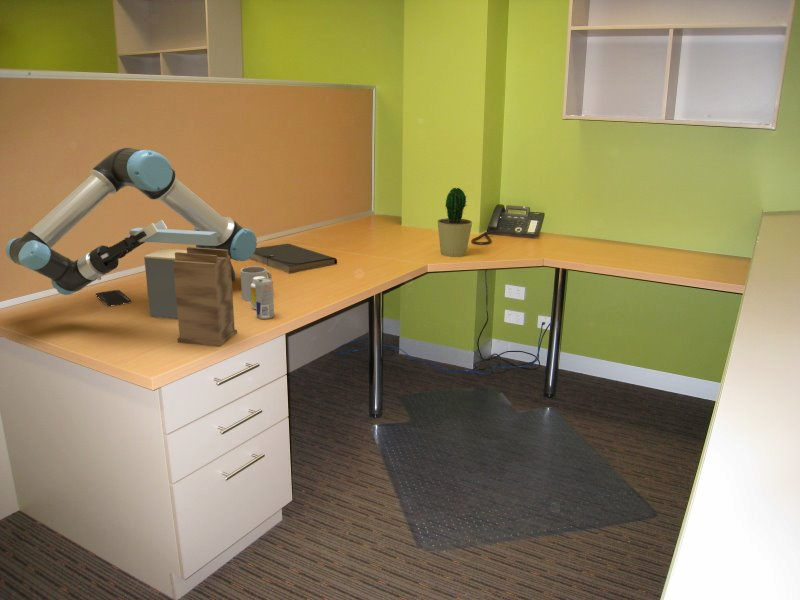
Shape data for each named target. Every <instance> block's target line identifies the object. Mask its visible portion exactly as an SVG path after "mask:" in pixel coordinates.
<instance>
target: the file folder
mask: <svg viewBox="0 0 800 600" xmlns="http://www.w3.org/2000/svg"><path fill="white" fill-rule="evenodd" d="M248 260H251V261H254V262H256V263H259V264H262V265H265V266H267V267H271V268H273V269H274V268H275V269H278V270H281V271H283V272H284V273H288V274H294V273H299V272H304V271H308V270H309V271H310V270H314V269H318V268H324V267H327V266H335V265H337V263H338V259H337V258H336V257H334V256H329V255H326V254H323V253H320V252H317V251H314V250H311V249H307V248H304V247H301V246H298V245H296V244H295V245H294V244H291V243H282V244H275V245H268V246H259V247H256V250H255V252H254V254H253V255H252V256H251V257H250V258H249V259H248Z"/></svg>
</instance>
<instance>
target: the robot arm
mask: <svg viewBox="0 0 800 600" xmlns="http://www.w3.org/2000/svg"><path fill="white" fill-rule="evenodd" d="M89 174H90V175H89V176H88V177H87V178H86V179H85V180H84V181H83V182H82V183H81V184H79V185H78V186H77V187H76V188H75V189H74V190H72V192H71V193H69V194H68V195H67V196H66V197H65V198H63V199H62V201H61V202H59V204H58V205H56V206H55V207H54V208H52V210H50V212H48V213H47V214H46V215H45V216H43V218H41V219H40V221H38V222H37V223H36V224H35V225H34V226H33V227H32V228H31V229H29V230H28V231H27V232H26V233H24V234H23V235H22V236H21V237H15V238H12V239H11V240H9V241H8V242H7V243H6V246H5V254H6V256H7V258H8V259H9V260H10V261H11V262H13V263H14V264H17V265H18V266H19V265H20V266H23V267H25V268H26V269H29V270H31V271H33V272H36V273H38V274H39V275H41V276H43V277H46V278H48V279H49V280H51V284H52V287H53V289H54V290H55V289H56V291H57V292H58V293H59V294H61V295H63V296H68V295H72V294H75V293H76V292H79V291H81V290H82V289H84V288H85V287H86V286H88V285H90V284H91V283H92V282H95V281H101V280H102V277H104V276H105V275H106V274H109V273H111V272H112V271H114V270H116V269H117V268H118V266H119V259H122V258H124V257H125V256H126V255H128V254H129V253H131V252H132V251H134V250H135V249H137V248H138V247H140V246H141V245H142V246H143V244H146V242H142V241H144V240H145V239H147V238H149V237H150V236H152V235H154V234H155V233H157V232H159V231H158V230H157V229H168V227H167V225H166V223H165V222H164V220H163V219H160V220H159V221H157V222H156V223H154V222H152V223H150V224H148V225H147V226H145V227H142V228H143V229H142V230H140V231H138V232H137V233H135V236H134V235H131V236H130V235H129V237H125V238H124V239H122V240H121V241H119V242H117V243H116V244H113V245H110V246H107V245H99V246H97V247H96V248H94V249H92V250H91V251H89V252H87V253H86V254H84V255H82V256H80V257H79V258H78V259H76V260H75V261H74V260H72V259H70V258H69V257H67V256H65V255H63V254H61V253H60V252H58V251H56V250H54V249H53V247H54V246H55V245H56V244H57V243H59V241H60V240H61V239H63V237H64V236H65V235H67V234H68V233H69V232H70V231H71V230H72V229H74V228H75V226H77V225H78V224H79V223H80V222H81V221H82V220H83V219H84V218H86V216H87V215H89V214H90V212H92V211H93V209H95V208H96V207H97V206H98V205H99V204H101V203H102V202H103V200H105V199H106V198H107V197H108V196H109V195H110V194H111V195H116V194H117V193H118V192H119V191H120V190H121V189H123V188H125V187H131V188H135V189H137V191H139V192H141V193H142V194H143V195H144V196H146V197H147V198H148V199H150V200H152V201H153V200H155V201H156V200H159V201H160V202H162V203H163V204H164V205H166V206H167V207H168V208H169V209H171V210H172V211H173V212H174V213H176V214H178V215H179V216H180V217H181V218H182V219H184V220H185V221H186V222H187V223H189V224H190V225H191V226H193V227H194V230H193V231H208V232H217V239H218V243H216V244H214V245H212V246H206V245H195V247H196V248H210V249H224V250H228V256H230V259H231V260H233V261H236V262H238V261H239V262H245V261H247V260H250V259H249V258H250V257H251V256H252V255H253V254H254V252H255V250H256V248H257V245H258V244H257V243H258V242H257V241H258V240H257V236H256V233H255V232H254V231H253V230H251V229H249V228H248V227H243V226H242V225H240V224H239V223H238V222H236V221H235V220H234V219H233V218H231V217H229V216H226V217H224V216H222V215H221V214H220V213H219V212H218V211H217V210H215V209H214V208H212V206H210V205H209V204H208V203H207V202H205V201H204V200H203V199H202V198H201V197H199V196H198V195H197V194H196V193H194V192H193V191H192V190H191V189H190V188H188V186H186V185H185V184H184V183H182V182H181V181H180V180H179V179H177V173H176V171H175V169H173V168H172V165H171V163H170V160H168V159H167V158H166V157H165V156H164V155H162V154H161V153H158V152H157V151H154V150H150V149H137V148H133V147H123V148H119V149H117V150H115V151H113V152H112V153H110V154H109V155H107V156H106V157H104V159H102V160H101V161H100V162H99V163H98V164H96V165H95V166H94V167H93V168H92V169H90V171H89ZM138 241H139V242H138ZM231 276H232V283H233V282H235V281H236V272H235V269H234V267H233V264H232V263H231Z"/></svg>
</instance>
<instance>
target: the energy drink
mask: <svg viewBox="0 0 800 600" xmlns="http://www.w3.org/2000/svg"><path fill="white" fill-rule="evenodd" d="M273 283H274V281H273V278H272V279H269V278H268V277H267V278H260V279H257V280H256V282H255V289H256V309H257V310H256V309H255V310H256V317H257V318H258V319H259V320H270V319H273V318H274V317H275V307H274V306H275V304H274V285H273ZM272 317H273V318H272Z"/></svg>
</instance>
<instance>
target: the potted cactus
mask: <svg viewBox="0 0 800 600" xmlns="http://www.w3.org/2000/svg"><path fill="white" fill-rule="evenodd" d="M466 192H467V191H466ZM466 192H465V191H464V189H463V188H462V189H461V188H459V187H452V188H451V189H450V191H449V192H447V195H446V198H445V206H444V208H445V209H446V214H447V215H446V216H447V217H446V218H445V217H444V218H439V219H437V230H438V239H439V248H440V255H441V256H445V257H451V258H459V257H460V258H462V257H465V256H466V255H467V251H468V245H469V241H470V235H471V231H472V225H473V221H472V220H470V219H465V218H463V214H466V213H464V209H465V208H466V207H467V206H468V205H467V204H466V203H467V195H466V194H465V193H466Z"/></svg>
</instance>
